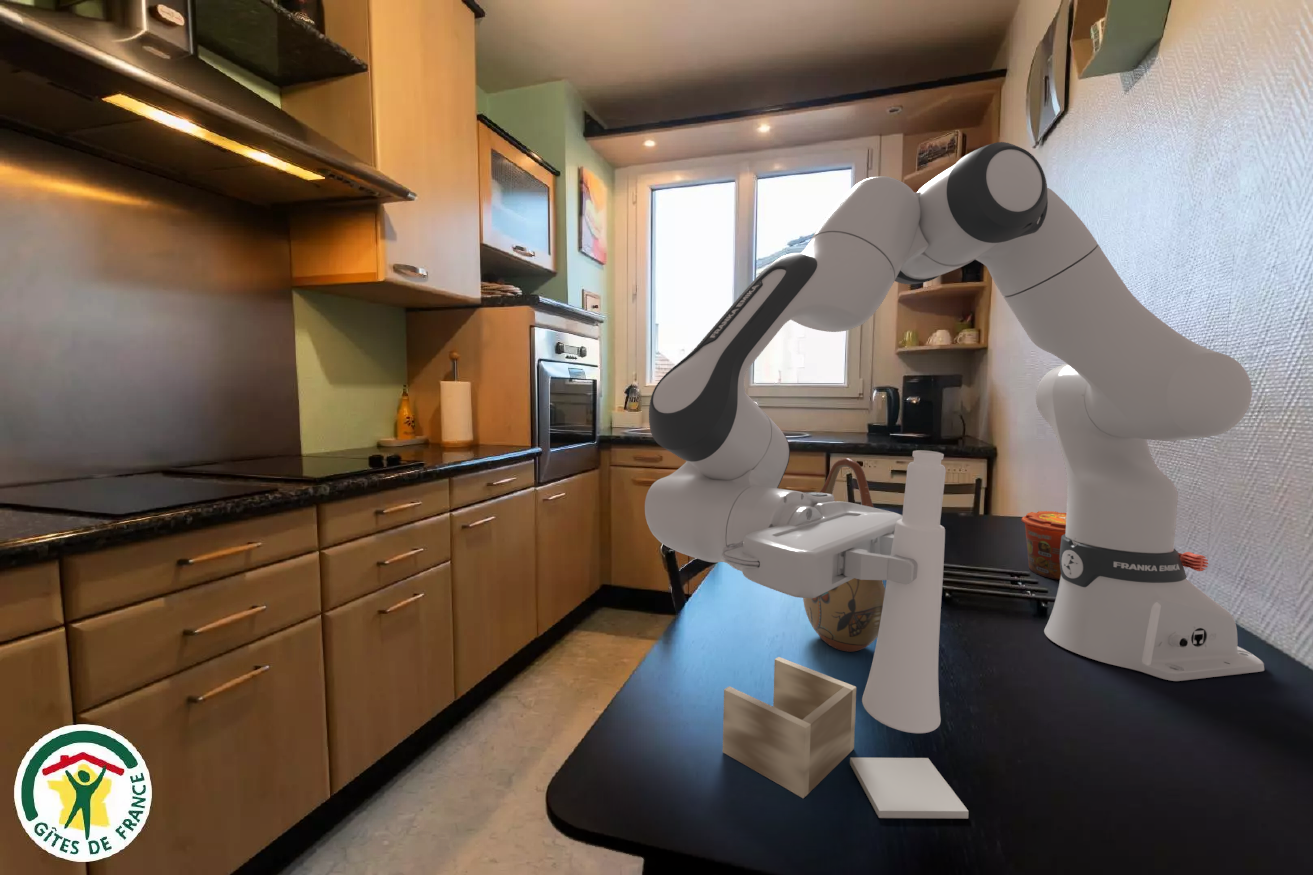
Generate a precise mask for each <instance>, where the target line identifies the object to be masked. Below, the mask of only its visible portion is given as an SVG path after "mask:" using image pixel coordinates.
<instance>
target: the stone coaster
mask: <svg viewBox="0 0 1313 875" xmlns="http://www.w3.org/2000/svg"><path fill="white" fill-rule="evenodd" d="M849 765H850V766H851V769H852V770H853V773H854V774H855V776H856V778H857V780H858V781H859V783H860V786H861V787H862V789H863V791H864V793H865V794H866V796H867V798H868V800H869V802H870V803H871V806H872V808H873V810H874V811H875V814H876V815H877V817H878V818H879V819H969V810H968V809H967V807H966V806H965V805H964V803H963V801H961V799H960V798H959V796H958V795H957V794H956V793H955V791H954V790H953V788H952V787H951V786H950V784H948V781H946V780H945V779H944V777H943V776H942V774H941V773H940V771H938V769H937V768H936V766H935V765H934V764H933V763H932V761H931V760H930V759H929V757H850V758H849Z"/></svg>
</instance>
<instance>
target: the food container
mask: <svg viewBox="0 0 1313 875" xmlns="http://www.w3.org/2000/svg"><path fill="white" fill-rule="evenodd" d="M1066 513H1067V512H1058V511H1052V510H1044V511H1042V510H1040V511H1039V510H1038V511H1037V512H1033V511H1030V512H1028V513H1026V515H1025V516H1022V517H1021V523H1022V524H1023V523H1024V529H1025V530H1024V531H1025V538H1026V549H1027V560H1028V568H1029V570H1030V571H1031V572H1032V573H1034V574H1036V575H1039V576H1040V577H1044V578H1049V579H1053V580H1056V581H1060V578H1061V570H1060V559H1059V558H1060V546H1061V537H1062V535H1064V534H1065V532H1066Z"/></svg>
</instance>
